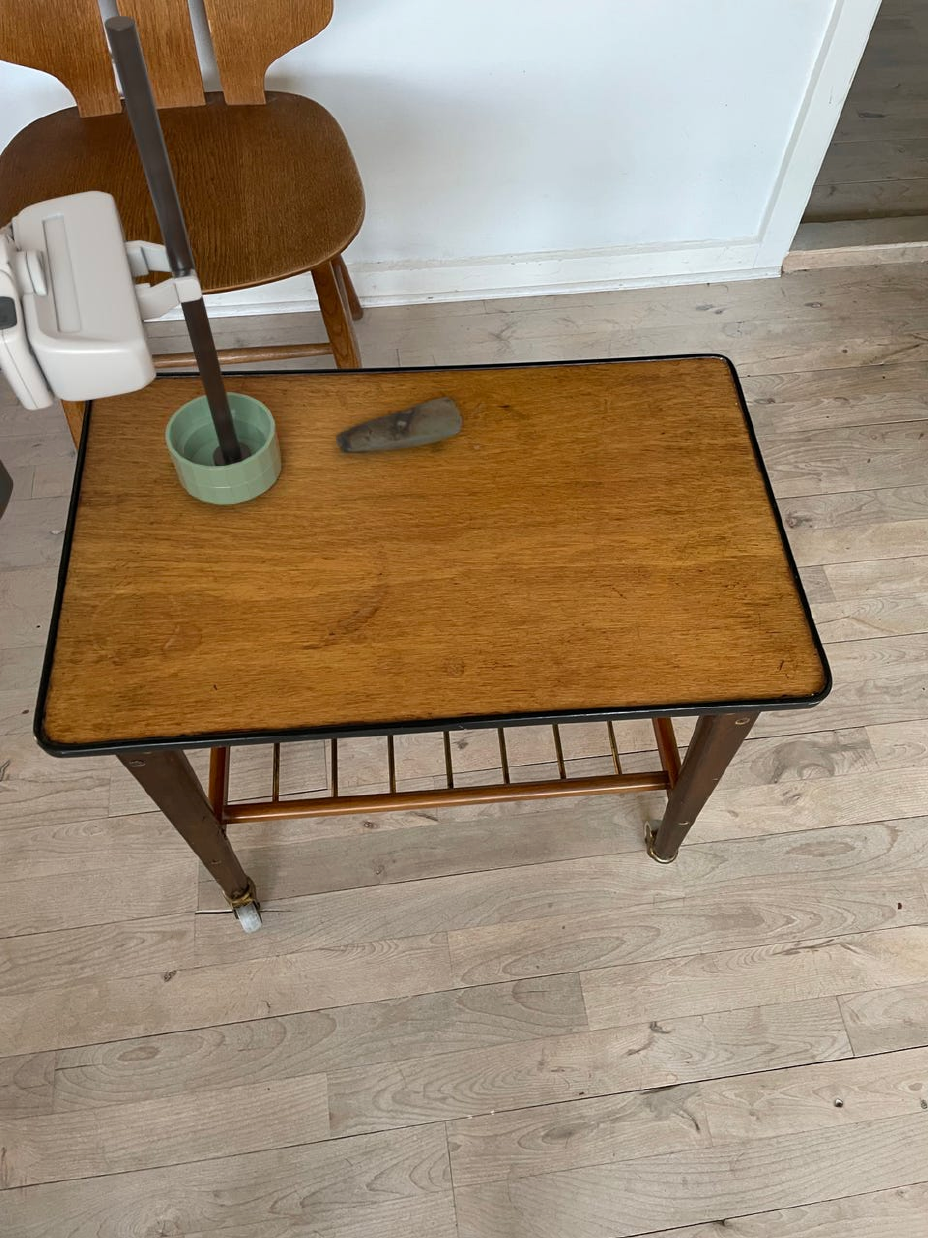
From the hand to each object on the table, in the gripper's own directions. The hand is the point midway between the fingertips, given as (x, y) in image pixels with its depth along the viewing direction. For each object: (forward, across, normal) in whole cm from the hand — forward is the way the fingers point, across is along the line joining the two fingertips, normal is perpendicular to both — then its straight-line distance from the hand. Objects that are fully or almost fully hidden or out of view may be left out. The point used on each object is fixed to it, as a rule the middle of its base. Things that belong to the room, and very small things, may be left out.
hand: (195, 270), depth 65 cm
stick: (-1, 0, -21) cm, 21 cm away
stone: (+16, 0, -22) cm, 28 cm away
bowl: (-1, 0, -22) cm, 22 cm away
